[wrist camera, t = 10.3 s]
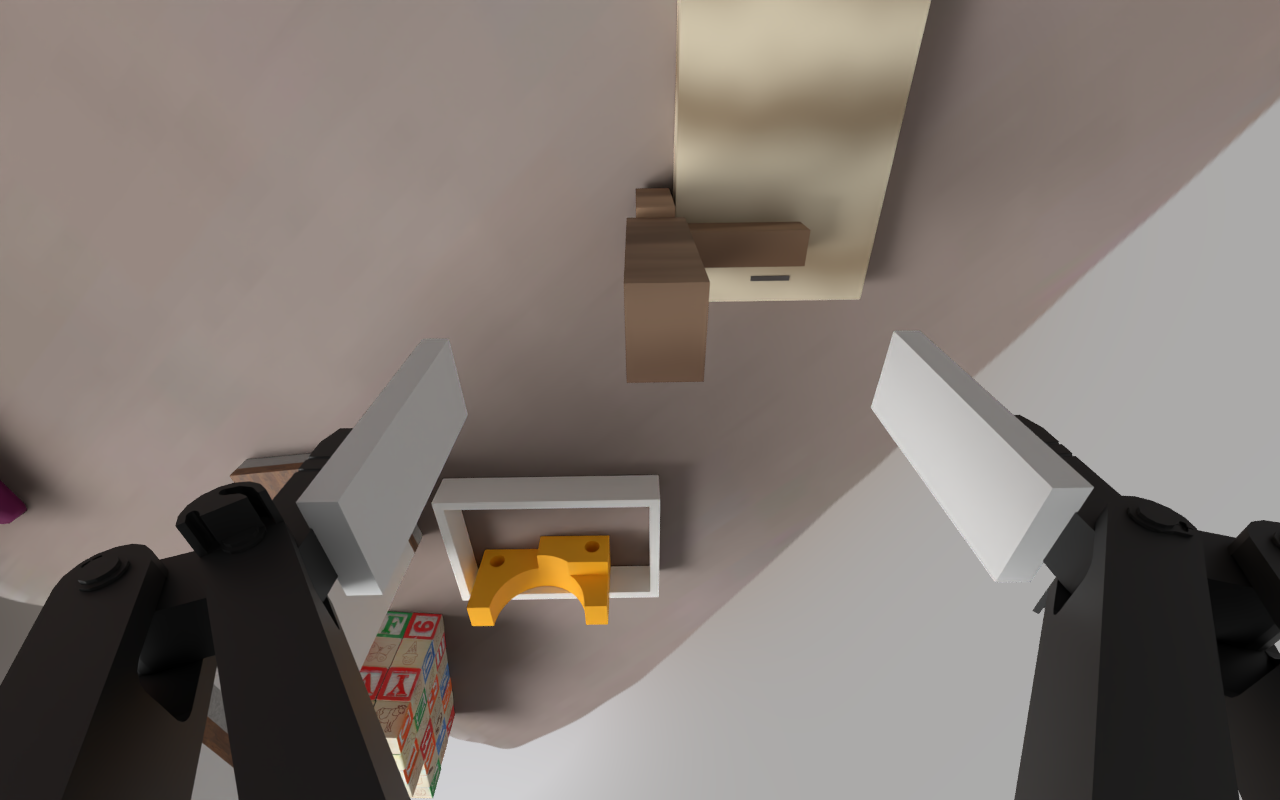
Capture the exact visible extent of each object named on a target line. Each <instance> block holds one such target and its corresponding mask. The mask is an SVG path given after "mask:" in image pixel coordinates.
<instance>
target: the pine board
mask: <svg viewBox="0 0 1280 800" xmlns="http://www.w3.org/2000/svg"><path fill="white" fill-rule="evenodd" d="M930 3H931V0H677V42H676V86H675V130H674V174H673V202H674V205H675V217H685V219H686V222H687V223H740V222H801V223H803V224H804V225H805V226H806V227H807V228H809V229H810V230H811V231H810V237H809V243H808V249H807V255H806V261H805V266H796V267H730V268H705V270H706V273H707V275H708V278H709V281H710V291H709V302H728V301H793V300H859V299H860V297H861V293H862V289H863V285H864V280H865V276H866V272H867V268H868V264H869V259H870V255H871V251H872V247H873V242H874V238H875V234H876V230H877V226H878V221H879V217H880V213H881V209H882V205H883V200H884V196H885V192H886V188H887V184H888V179H889V175H890V171H891V167H892V163H893V158H894V154H895V150H896V146H897V142H898V137H899V133H900V129H901V125H902V120H903V116H904V112H905V108H906V104H907V99H908V95H909V91H910V87H911V83H912V78H913V74H914V70H915V66H916V62H917V57H918V53H919V49H920V45H921V41H922V36H923V32H924V28H925V24H926V20H927V15H928V11H929V7H930Z"/></svg>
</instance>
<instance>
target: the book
mask: <svg viewBox="0 0 1280 800" xmlns="http://www.w3.org/2000/svg"><path fill="white" fill-rule="evenodd" d="M26 510H27V508H26V506H25V504H24V503H23V502H22V501H21V500H20V499H19V498H18V497H17V496H16V495H15V494H14V493H13V492H12V491H11V490H10V489H9V488H8V487H7V486H6V485H5V484H4V483H3V482H2V481H1V480H0V524H7V523H10V522H12V521H13V520H15V519H16V518H18V517H19V516H20V515H22V514H23V513H24V512H25V511H26Z"/></svg>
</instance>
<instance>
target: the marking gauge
mask: <svg viewBox="0 0 1280 800" xmlns="http://www.w3.org/2000/svg"><path fill="white" fill-rule="evenodd" d="M810 231H811V230H810V229H809V228H807V227H806V226H805V225H804V224H803V223H801V222H740V223H687V222H686V219H685V217H675V205H674V202H673V199H672V196H671V193H670V190H669V188H642V189H636V218H627V225H626V247H625V269H624V306H625V340H626V373H627V383H641V382H704V367H705V352H706V336H707V321H708V306H709V291H710V281H709V278H708V275H707V273H706V270H705V268H730V267H796V266H805V261H806V255H807V249H808V243H809V237H810Z"/></svg>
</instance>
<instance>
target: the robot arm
mask: <svg viewBox="0 0 1280 800" xmlns="http://www.w3.org/2000/svg"><path fill="white" fill-rule="evenodd" d="M871 409H872V410H873V411H874V413H875V414H876V416H877V417H878V418H879V420H880V421H881V423H882V424H883V425H884V427H885V428H886V430H887V431H888V432H889V434H890V435H891V437H892V438H893V440H894V441H895V442H896V444H897V445H898V447H899V448H900V449H901V451H902V452H903V453H904V455H905V456H906V458H907V459H908V460H909V462H910V463H911V465H912V466H913V468H914V469H915V470H916V471H917V473H918V474H919V476H920V477H921V479H922V480H923V482H924V483H925V484H926V486H927V487H928V489H929V490H930V491H931V493H932V494H933V496H934V497H935V498H936V500H937V501H938V503H939V504H940V505H941V507H942V508H943V510H944V511H945V512H946V514H947V515H948V517H949V518H950V520H951V521H952V522H953V524H954V525H955V527H956V528H957V529H958V531H959V532H960V534H961V535H962V536H963V538H964V539H965V541H966V542H967V543H968V545H969V546H970V547H971V549H972V550H973V552H974V553H975V555H976V556H977V557H978V559H979V560H980V562H981V563H982V564H983V566H984V567H985V569H986V570H987V571H988V573H989V574H990V576H991V577H992V579H993V580H994V581H995V582H1031V581H1032V579H1033V577H1034V576H1035V575H1036V573H1037V572H1038V570H1039V569H1040V567H1041V566H1042V564H1043V563H1045V564H1046V565H1047V567H1048V568H1049V569H1050V570H1051V572H1052V573H1053V574H1054V575H1055V576H1056V578H1055V579H1054V581H1053V582H1052V584H1051V585H1050V586H1049V588H1048V589H1047V591H1046V592H1045V593H1044V595H1043V596H1042V598H1041V599H1040V600H1039V602H1038V603H1037V605H1036V606H1035V608H1034V609H1033V611H1034V612H1036V613H1038V614H1039V613H1040V612H1041V610H1042V609H1043V608H1045V612H1044V619H1043V625H1042V631H1041V637H1040V644H1039V650H1038V656H1037V662H1036V669H1035V675H1034V681H1033V687H1032V694H1031V700H1030V706H1029V712H1028V718H1027V725H1026V731H1025V737H1024V744H1023V750H1022V756H1021V762H1020V768H1019V775H1018V781H1017V787H1016V793H1015V799H1014V800H1239V793H1240V795H1241V797H1242V800H1280V653H1279V652H1278V650H1277V648H1276V646H1275V645H1274V644H1275V643H1276V642H1277V641H1279V640H1280V523H1279V522H1272V521H1265V520H1261V521H1254V522H1251V523H1250V524H1249V525H1248V526H1247V527H1246V528H1245V529H1244V530H1243V531H1242V532H1241V533H1240V534H1239V535H1238V536H1237V537H1236V538H1234V537H1229V536H1223V535H1219V534H1214V533H1209V532H1203V531H1198V530H1197V528H1195V526H1193V525H1192V524H1191V523H1190V522H1189V521H1188V520H1187V519H1186V518H1184V517H1183V516H1181V515H1180V514H1178V513H1176V512H1175V511H1173V510H1172V509H1170V508H1168V507H1165V506H1163V505H1161V504H1158V503H1156V502H1154V501H1151V500H1147V499H1143V498H1139V497H1135V496H1121V495H1120V494H1119V493H1118V492H1116V491H1115V490H1114V489H1113V488H1112V487H1111V486H1109V485H1108V484H1107V483H1106V482H1105V481H1104V480H1102V479H1101V478H1100V477H1099V476H1098V475H1097V474H1096V473H1094V472H1093V471H1092V470H1091V469H1090V468H1089V467H1087V466H1086V465H1085V464H1084V463H1083V462H1082V461H1081V460H1079V459H1078V458H1077V457H1076V456H1072V453H1071V452H1070V451H1069V450H1068V449H1067V448H1065V447H1064V446H1063V445H1062V444H1059V443H1058V442H1059V441H1058V440H1056V439H1055V438H1054V437H1053V436H1052V435H1051V434H1049V433H1048V432H1047V431H1046V430H1045V429H1044V428H1042V427H1041V426H1039V425H1037V424H1035V423H1033V422H1031V421H1030V420H1028V419H1026V418H1024V417H1022V416H1020V415H1013V414H1012V413H1011V412H1010V411H1008V409H1006V408H1005V407H1004V406H1003V405H1002V404H1001V403H1000V402H999V401H998V400H996V399H995V398H994V397H993V396H992V395H991V394H990V393H989V392H988V391H986V390H985V389H984V388H983V387H982V386H981V385H980V384H979V383H978V382H976V381H975V380H974V379H973V378H972V377H971V376H970V375H969V374H967V373H966V372H965V371H964V370H963V369H962V368H961V367H960V366H959V365H957V364H956V363H955V362H954V361H953V360H952V359H951V358H950V357H949V356H947V355H946V354H945V353H944V352H943V351H942V350H941V349H940V348H939V347H937V346H936V345H935V344H934V343H933V342H932V341H931V340H930V339H929V338H927V337H926V336H925V335H924V334H923V333H922V332H921V331H894V332H893V336H892V339H891V342H890V346H889V349H888V352H887V356H886V359H885V362H884V366H883V369H882V372H881V376H880V379H879V383H878V386H877V389H876V393H875V396H874V399H873V403H872V406H871ZM467 416H468V413H467V409H466V405H465V401H464V397H463V393H462V389H461V385H460V381H459V377H458V373H457V369H456V365H455V361H454V357H453V353H452V349H451V345H450V341H449V338H445V339H422V340H421V342H420V343H419V344H418V346H417V347H416V348H415V350H414V351H413V352H412V353H411V355H410V356H409V357H408V359H407V360H406V361H405V362H404V364H403V365H402V366H401V368H400V369H399V370H398V371H397V373H396V374H395V375H394V377H393V378H392V379H391V380H390V382H389V383H388V384H387V386H386V387H385V388H384V389H383V391H382V392H381V393H380V395H379V396H378V397H377V398H376V400H375V401H374V402H373V404H372V405H371V406H370V407H369V409H368V410H367V411H366V413H365V414H364V415H363V416H362V418H361V419H360V420H359V422H358V423H357V424H356V425H355V427H354V428H342V429H339V430H337V431H336V432H334V433H333V434H331V435H330V436H329V437H327V438H326V439H324V440H323V441H321V442H320V443H319V445H318V446H317V447H316V448H315V449H314V451H313V452H312V453H311V454H310V455H309V459H308V460H305V461H304V462H303V464H302V465H301V466H300V467H299V468H298V472H295V473H294V474H293V476H292V477H291V478H290V479H289V480H288V482H287V483H286V484H285V485H284V486H283V488H282V489H281V490H280V491H279V492H278V494H277V495H276V496H275V497H274V498H273V500H272V499H271V497H270V495H269V494H268V492H267V490H266V489H265V488H264V487H263V486H262V485H261V484H260V483H255V482H251V481H247V482H236V483H232V484H228V485H225V486H221V487H218V488H216V489H214V490H212V491H210V492H208V493H205V494H203V495H201V496H200V497H199V498H197V499H196V500H194V501H193V502H192V503H190V504H189V505H187V506H186V508H185V509H184V510H183V511H182V512H181V513H180V515H179V516H178V519H177V522H176V527H177V529H178V530H179V531H180V533H181V534H182V535H183V536H184V538H185V539H186V540H187V542H188V543H189V544H190V546H191V547H192V548H193V550H194V551H193V552H189V553H185V554H181V555H177V556H173V557H169V558H165V559H161V560H159V559H158V557H157V556H156V555H155V554H154V553H153V551H152V550H151V549H149V548H148V547H147V546H146V545H140V544H129V545H124V546H119V547H115V548H112V549H109V550H107V551H104V552H101V553H99V554H96V555H94V556H92V557H90V558H89V559H87V560H85V561H83V562H82V563H80V564H79V565H77V566H76V567H75V568H73V569H72V570H71V571H70V572H68V573H67V574H66V575H65V576H63V577H62V578H61V580H60V581H59V582H58V583H57V585H56V586H55V587H54V588H53V590H52V592H51V593H50V595H49V597H48V599H47V601H46V603H45V605H44V606H43V608H42V610H41V612H40V614H39V616H38V618H37V619H36V621H35V623H34V625H33V627H32V629H31V630H30V632H29V634H28V636H27V638H26V639H25V641H24V643H23V645H22V647H21V649H20V651H19V652H18V654H17V656H16V658H15V660H14V662H13V663H12V665H11V667H10V669H9V671H8V673H7V674H6V676H5V678H4V680H3V682H2V684H1V685H0V800H191V797H192V792H193V787H194V782H195V777H196V771H197V766H198V761H199V756H200V751H201V746H202V741H203V736H204V730H205V725H206V720H207V715H208V710H209V705H210V700H211V695H212V689H213V684H214V679H215V674H216V669H217V668H218V674H219V681H220V687H221V693H222V699H223V706H224V712H225V718H226V724H227V731H228V737H229V743H230V749H231V756H232V762H233V768H234V774H235V781H236V787H237V793H238V799H239V800H411V799H410V797H409V794H408V792H407V789H406V787H405V784H404V782H403V779H402V777H401V774H400V772H399V769H398V767H397V764H396V762H395V759H394V757H393V754H392V752H391V749H390V747H389V744H388V742H387V739H386V737H385V734H384V732H383V729H382V727H381V724H380V722H379V719H378V717H377V714H376V712H375V709H374V707H373V704H372V701H371V699H370V696H369V694H368V691H367V689H366V686H365V684H364V681H363V679H362V676H361V674H360V671H359V669H358V666H357V664H356V661H355V659H354V656H353V654H352V651H351V649H350V646H349V644H348V641H347V639H346V636H345V634H344V631H343V629H342V626H341V624H340V621H339V619H338V616H337V614H336V611H335V609H334V606H333V604H332V602H331V600H330V599H329V597H328V593H329V591H330V590H331V588H332V586H333V584H334V583H335V581H336V579H338V581H339V583H340V584H341V586H342V588H343V590H344V592H345V594H346V595H347V596H351V595H383V593H384V591H385V589H386V587H387V585H388V583H389V580H390V578H391V576H392V574H393V572H394V570H395V568H396V566H397V564H398V561H399V559H400V557H401V555H402V553H403V551H404V549H405V547H406V545H407V543H408V540H409V538H410V536H411V534H412V532H413V530H414V528H415V526H416V524H417V521H418V519H419V517H420V515H421V513H422V511H423V509H424V507H425V505H426V502H427V500H428V498H429V496H430V494H431V492H432V490H433V488H434V486H435V483H436V481H437V479H438V477H439V475H440V473H441V471H442V469H443V467H444V464H445V462H446V460H447V458H448V456H449V454H450V452H451V450H452V448H453V445H454V443H455V441H456V439H457V437H458V435H459V433H460V431H461V429H462V426H463V424H464V422H465V420H466V418H467ZM1238 790H1239V793H1238Z"/></svg>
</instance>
